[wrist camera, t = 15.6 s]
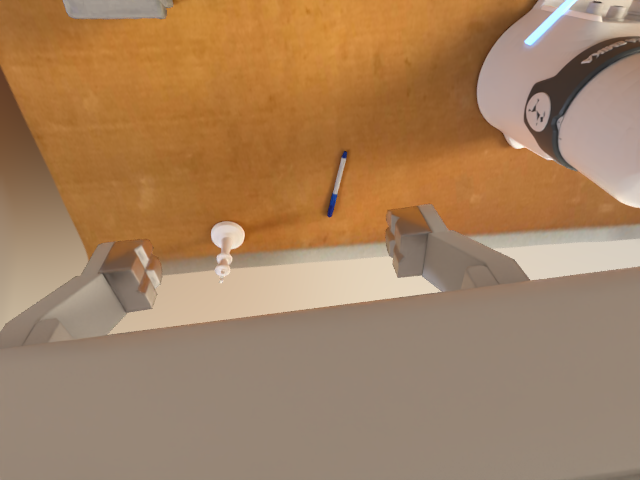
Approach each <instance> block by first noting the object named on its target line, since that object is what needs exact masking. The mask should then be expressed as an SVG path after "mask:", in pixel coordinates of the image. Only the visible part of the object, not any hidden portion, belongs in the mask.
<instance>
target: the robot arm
mask: <svg viewBox="0 0 640 480" xmlns="http://www.w3.org/2000/svg"><path fill="white" fill-rule="evenodd" d="M477 101H478V106H479V109H480V111H481V113H482V115H483V117H484V118H485V119H486V121H487V122H488V123H490V124H491V125H492V126H494V127H495V128H497V129H499V130H500V131H501V132H503V134H504V136H505V138H506V140H507V142H508V143H509V145H511V146H512V147H514V148H516V149H520V148H524V147H526V148H528V149H529V150H531V151H533V152H534V153H536V154H538V155H540V156H541V157H543V158H545V159H547V160H554V161H555V162H557V163H558V164H561V165H563V166H565V167H566V168H569V169H571V170H574V171H579V172H580V173H582V174H583V175H585V176H586V177H587V178H589V179H590V180H591V181H593V182H594V183H595V184H597V185H598V186H599V187H601V188H602V189H603V190H605V191H606V192H608V193H609V194H610V195H612V196H613V197H614V198H616V199H617V200H618V201H620V202H622V203H624V204H626V205H629V206H633V207H639V208H640V0H538V1H537V3H536V4H535V5H534V7H533V8H532V9H531V10H530V11H529V12H528V13H527V14H526V15H524V16H523V17H522V18H520V19H519V20H518V21H517V22H515V23H514V24H513V25H512V26H511V27H509V28H508V29H507V30H506V31H505V32H504V33H503V34H502V36H501V37H500V38H499V39H498V40H497V42H496V43H495V44H494V46H493V47H492V49H491V50H490V52H489V53H488V55H487V57H486V59H485V61H484V63H483V66H482V68H481V71H480V75H479V79H478V84H477ZM386 221H387V223H388V226H389V227H388V228H387V229H386V235H385V238H386V247H387V251H388V253H389V256H390V257H392V258H393V267H394V269H395V272H396V274H397V277H398V278H400V277H410V276H420V275H422V276H423V277H424V278H425V279H426V280H428V281H429V282H430V283H431V284H433V285H434V286H435V287H437V288H438V289H439V290H441V291H442V292H438V293H431V294H423V295H415V296H408V297H399V298H392V299H384V300H376V301H369V302H360V303H353V304H345V305H337V306H329V307H322V308H314V309H306V310H299V311H291V312H283V313H275V314H267V315H260V316H252V317H244V318H236V319H229V320H220V321H213V322H205V323H197V324H189V325H181V326H173V327H166V328H158V329H150V330H143V331H134V332H127V333H119V334H111V335H107V334H108V333H109V332H110V331H111V330H112V329H113V328H114V327H115V326H116V325H117V324H118V322H120V320H121V319H122V318H123V317H124V316H125V315H126V314H127V313H128V312H134V311H140V310H147V309H152V308H153V305H154V302H155V299H156V296H157V293H156V291H155V288H157V287H158V286H159V285H160V283H161V280H162V267H161V263H160V261H159V258H158V257H156V256H155V255H153V254H152V251H153V246H152V244H151V242H150V240H148V239H135V240H125V241H117V242H107V243H101V244H99V245H98V246H97V248H96V250H95V251H94V253H93V255H92V257H91V258H90V260H89V262H88V263H87V265H86V267H85V269H84V270H83V272H82V274H81V276H76V277H74V278H72V279H71V280H70V281H68V282H67V283H65V284H64V285H62V286H61V287H59V288H58V289H56V290H55V291H54V292H52V293H51V294H49V295H47V296H46V297H45V298H43V299H42V300H40V301H39V302H37V303H36V304H34V305H33V306H31V307H30V308H28V309H27V310H25V311H24V312H22V313H21V314H20V315H18V316H17V317H15V318H14V319H12V320H11V321H9V322H8V323H7V324H6V325H5V326H4V328H3V329H2V331H1V332H0V480H640V267H632V268H624V269H616V270H609V271H601V272H594V273H586V274H578V275H570V276H563V277H555V278H547V279H539V280H532V281H530V279H529V278H528V277H527V275H526V274H525V273H524V272H523V270H522V269H521V268H520V266H519V265H518V264H517V262H516V261H515V260H514V259H512V258H510V257H508V256H506V255H503V254H501V253H499V252H497V251H495V250H493V249H491V248H489V247H487V246H485V245H483V244H481V243H479V242H476V241H474V240H472V239H470V238H468V237H466V236H464V235H462V234H460V233H458V232H456V231H454V230H450V231H449V230H448V229H447V227H446V226H445V224H444V222H443V221H442V219H441V218H440V216H439V215H438V213H437V211H436V210H435V208H434V207H433V205H432V204H424V205H418V206H413V207H406V208H398V209H391V210H387V214H386Z"/></svg>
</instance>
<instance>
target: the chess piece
mask: <svg viewBox="0 0 640 480" xmlns="http://www.w3.org/2000/svg"><path fill="white" fill-rule="evenodd" d="M211 238H212V241H213V243H214V244H215V245H216V246H218V247H220V248H221V253H220V254H219V255H218V256H217V262H218V263H219V264H218V265H217V266H216V268H215V272H216V274H217V275H219V276H220V281H219V282H220V283H223V277H224V276H227V275H228V274H230V267H229V264H230V263H231V262H232V256H231V255H230V254H229V253H230V250H231V249H235V248H237V247H239V246H240V245H241V244H242V243H243V241H244V238H245V233H244V230H243V229H242V227H241V226H239V225H238V224H236V223H234V222H230V221H224V222H220V223H218V224H216V225H215V226H214V227H213V228H212V230H211Z"/></svg>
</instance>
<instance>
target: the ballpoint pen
mask: <svg viewBox="0 0 640 480" xmlns="http://www.w3.org/2000/svg"><path fill="white" fill-rule="evenodd" d="M346 157H347V152H346V151H344V153H343V155H342V158H341V162H340V166H339V170H338V174H337V178H336V182H335V187H334V191H333V193H332V197H331V201H330V206H329V210H328V217H331V216H332V213H333V210H334V206H335V202H336V198H337V193H338V189H339V185H340V181H341V177H342V173H343V170H344V166H345V162H346Z"/></svg>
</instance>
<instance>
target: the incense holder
mask: <svg viewBox="0 0 640 480" xmlns="http://www.w3.org/2000/svg"><path fill="white" fill-rule="evenodd" d="M63 3H64V6H65V9H66V12H67V14H68V15H69V17H72V18H74V19H127V18H130V19H139V18H158V19H165V18H166V16H167V10H166V8H171V7H173V0H63Z"/></svg>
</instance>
